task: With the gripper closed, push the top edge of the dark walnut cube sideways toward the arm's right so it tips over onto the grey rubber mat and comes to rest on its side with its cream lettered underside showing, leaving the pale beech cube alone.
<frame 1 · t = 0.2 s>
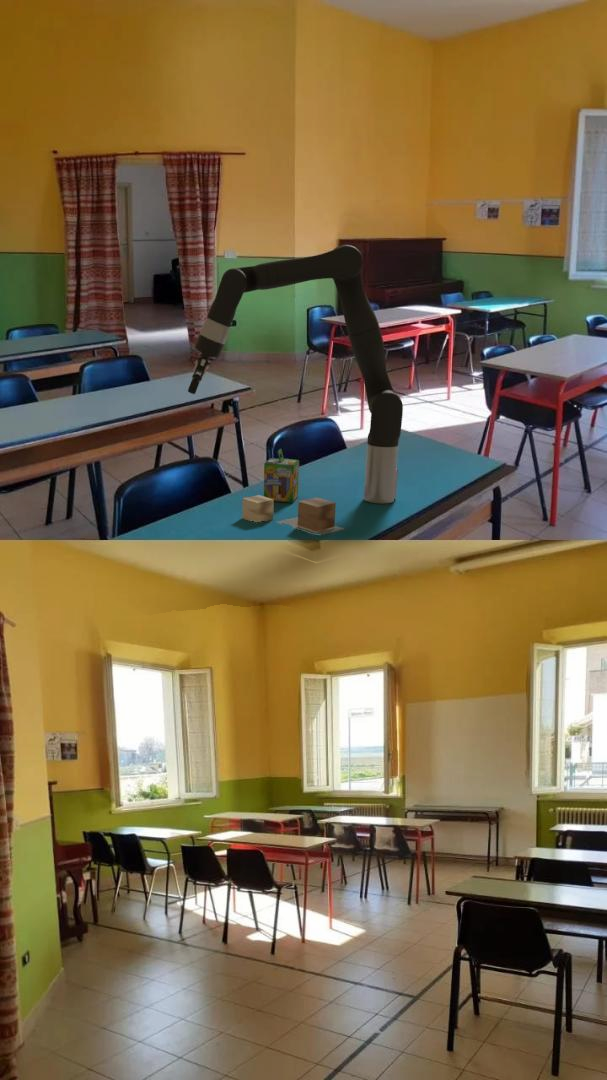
hand: (191, 391, 239), 31 cm above the table, tool tilted 20°, fingers open, 8 cm apart
reading mat: (309, 526, 224), on the table
walnut block: (315, 527, 222), resting on reading mat
beech block: (257, 520, 228), on the table
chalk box: (281, 499, 251), on the table
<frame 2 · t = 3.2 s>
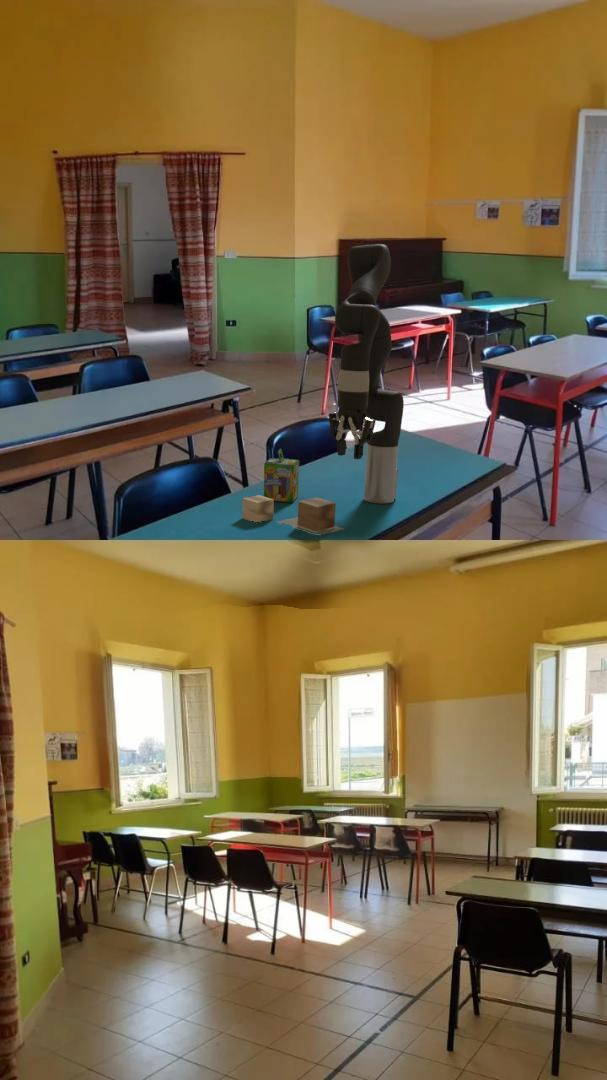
hand: (349, 456, 209), 21 cm above the table, tool pointing down, fingers open, 5 cm apart
nothing on the table moved.
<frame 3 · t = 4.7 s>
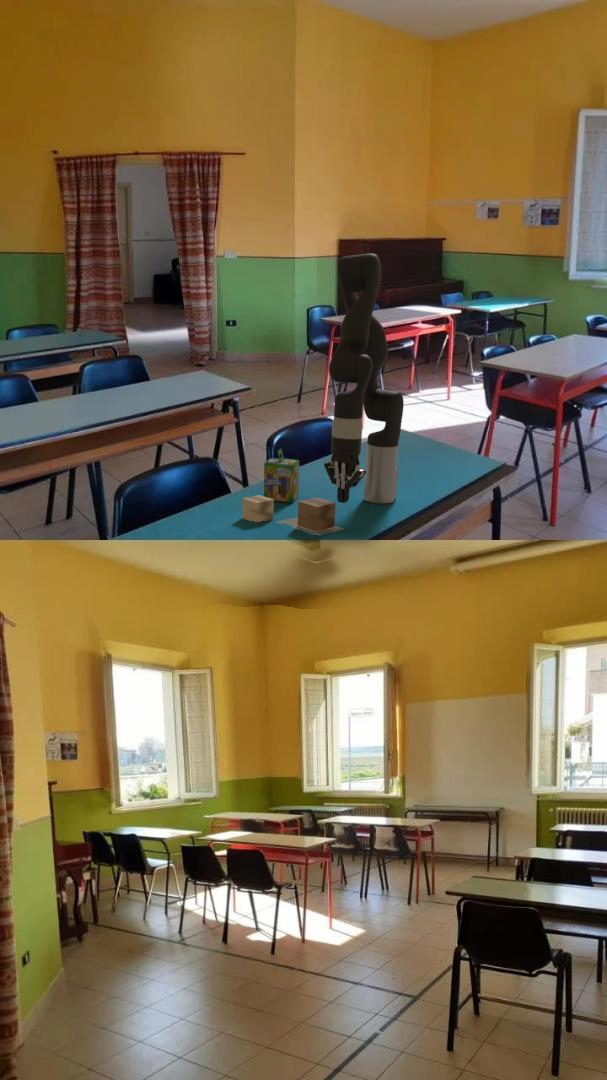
hand: (342, 502, 213), 9 cm above the table, tool pointing down, fingers closed
nothing on the table moved.
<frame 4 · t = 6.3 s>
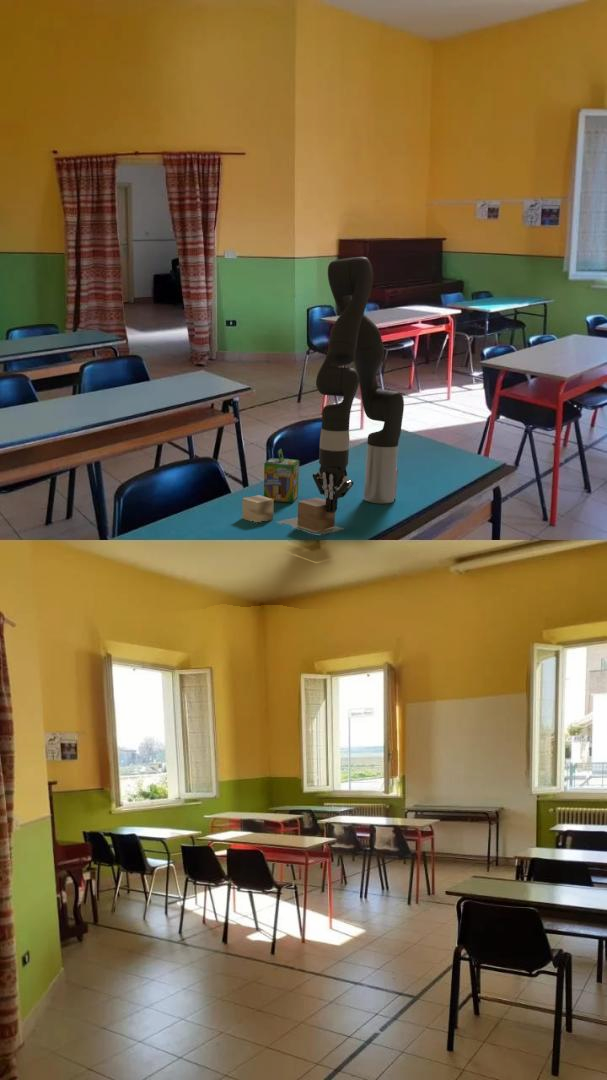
hand: (331, 512, 217), 6 cm above the table, tool pointing down, fingers closed
walnut block: (315, 527, 222), resting on reading mat, touching gripper
everything else where it was.
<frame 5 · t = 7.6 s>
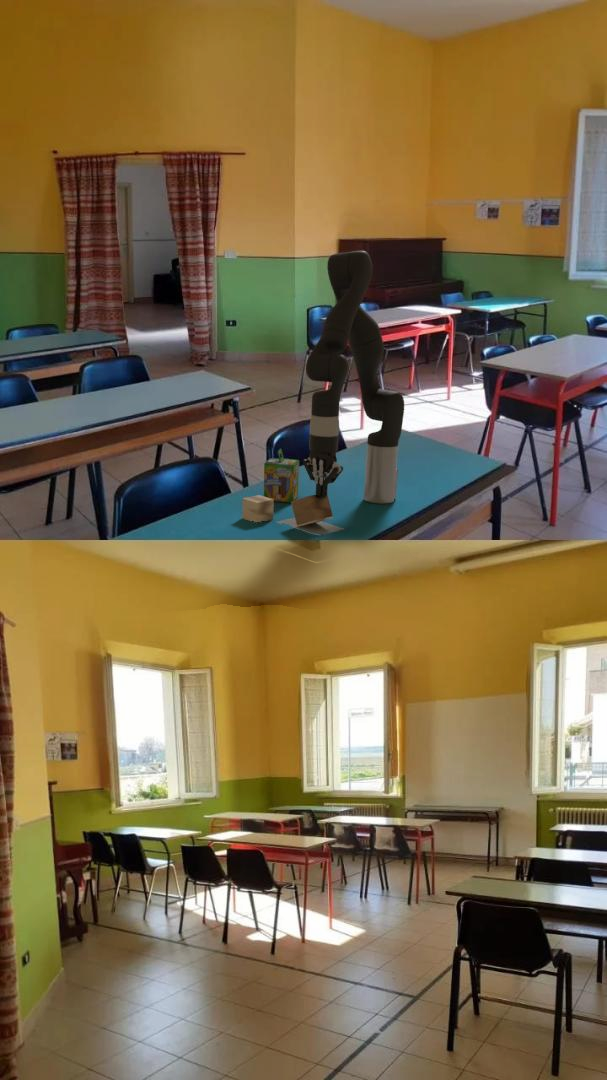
hand: (321, 497, 219), 9 cm above the table, tool pointing down, fingers closed
walnut block: (315, 522, 222), point 2 cm above the table, tilted 24°, touching gripper, reading mat
everything else where it was.
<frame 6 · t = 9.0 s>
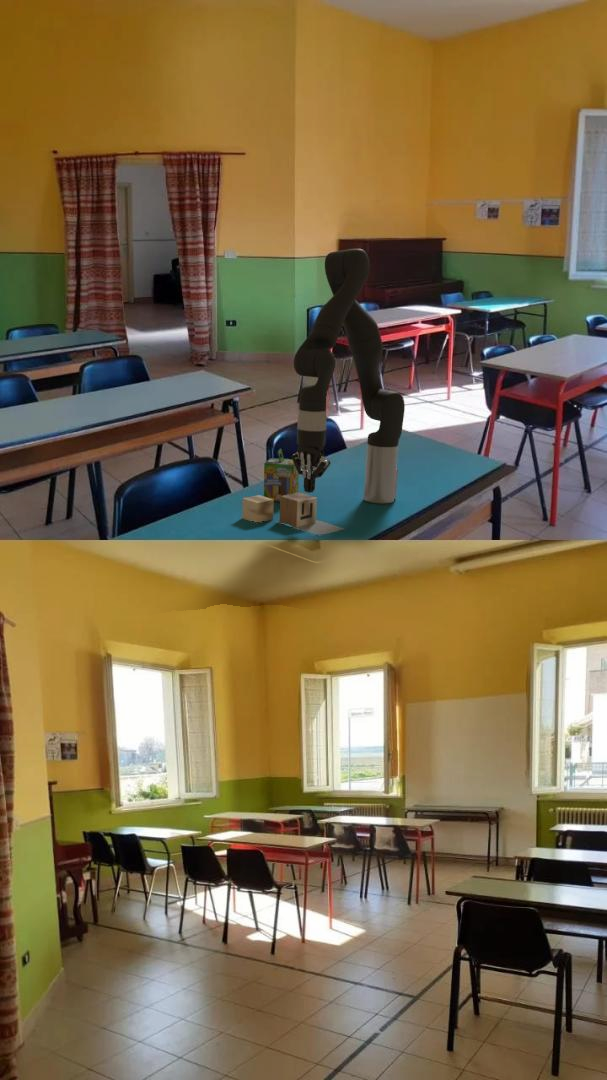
hand: (308, 491, 222), 9 cm above the table, tool pointing down, fingers closed
walnut block: (307, 512, 224), point 4 cm above the table, tilted 90°, touching reading mat
everything else where it was.
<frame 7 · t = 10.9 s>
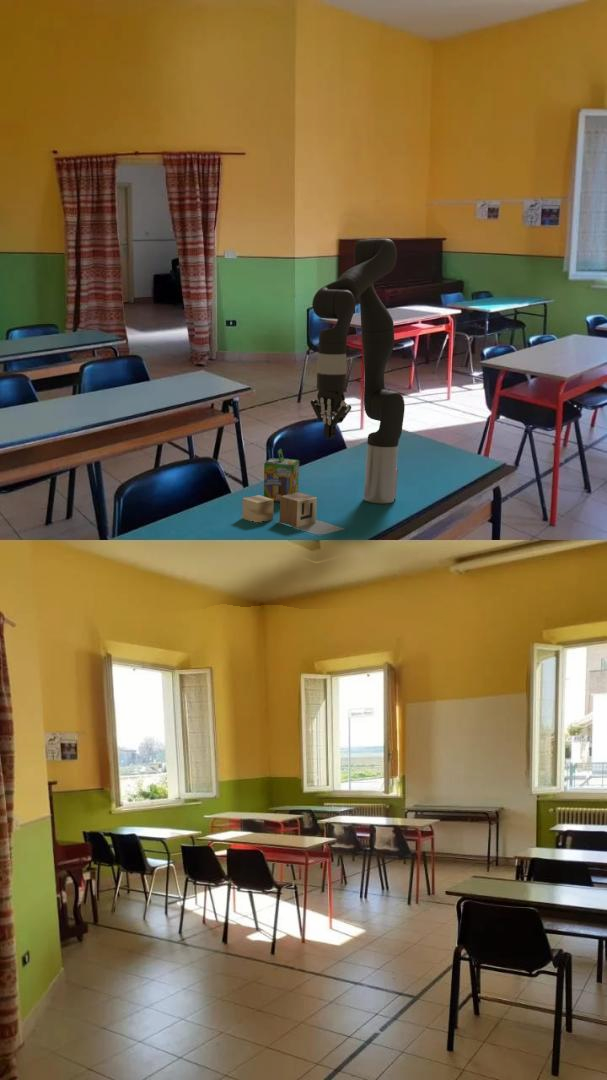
hand: (329, 438, 217), 24 cm above the table, tool pointing down, fingers closed
nothing on the table moved.
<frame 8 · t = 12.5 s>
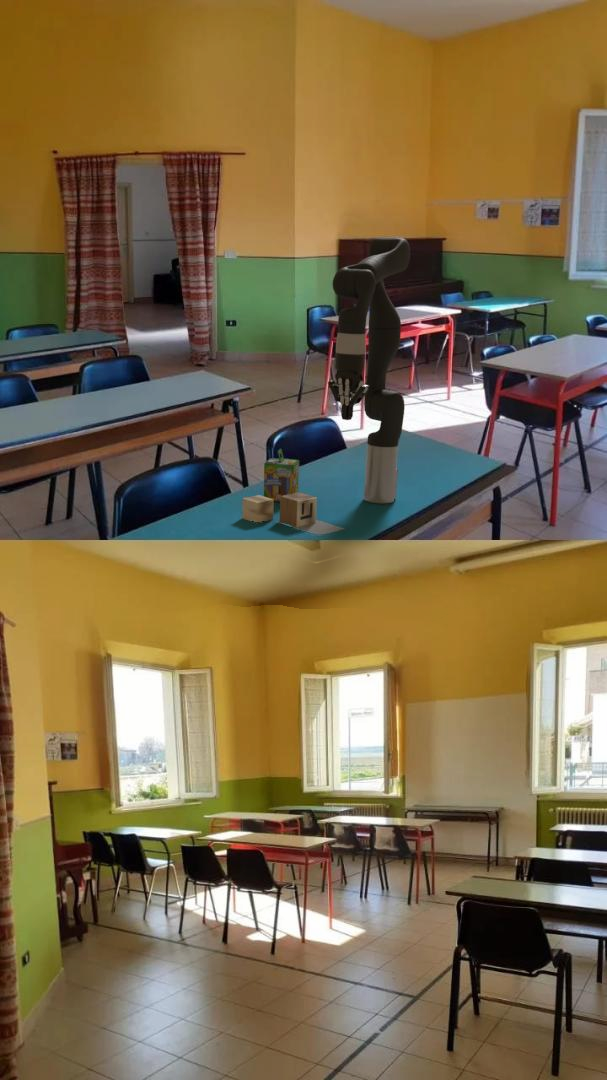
hand: (346, 419, 217), 29 cm above the table, tool pointing down, fingers closed
nothing on the table moved.
at the end: walnut block tilted 90°; walnut block inside the target area (0.2 cm from its centre), point 3.7 cm above the table; beech block moved 0.1 cm from its start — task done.
